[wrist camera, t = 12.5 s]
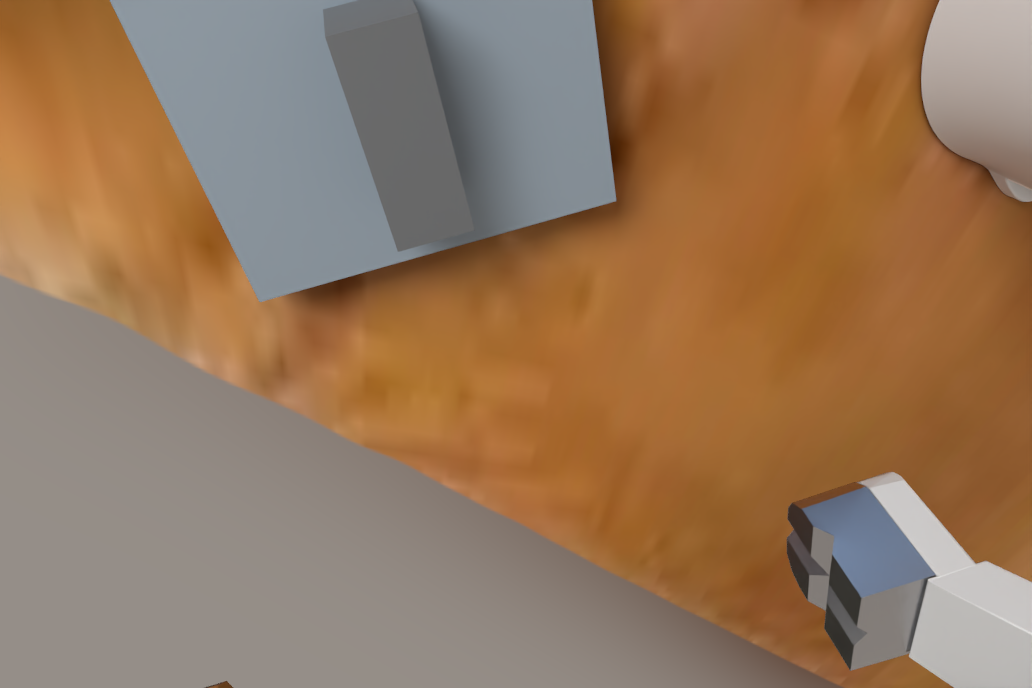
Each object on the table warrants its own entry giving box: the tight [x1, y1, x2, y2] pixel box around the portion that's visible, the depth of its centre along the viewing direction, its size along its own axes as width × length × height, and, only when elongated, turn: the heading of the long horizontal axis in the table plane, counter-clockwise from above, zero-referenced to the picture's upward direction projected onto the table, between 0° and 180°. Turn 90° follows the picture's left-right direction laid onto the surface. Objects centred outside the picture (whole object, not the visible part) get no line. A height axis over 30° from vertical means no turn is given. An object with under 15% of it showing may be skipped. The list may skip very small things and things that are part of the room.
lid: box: [110, 0, 616, 302], centre depth 29 cm, size 16×13×6 cm
